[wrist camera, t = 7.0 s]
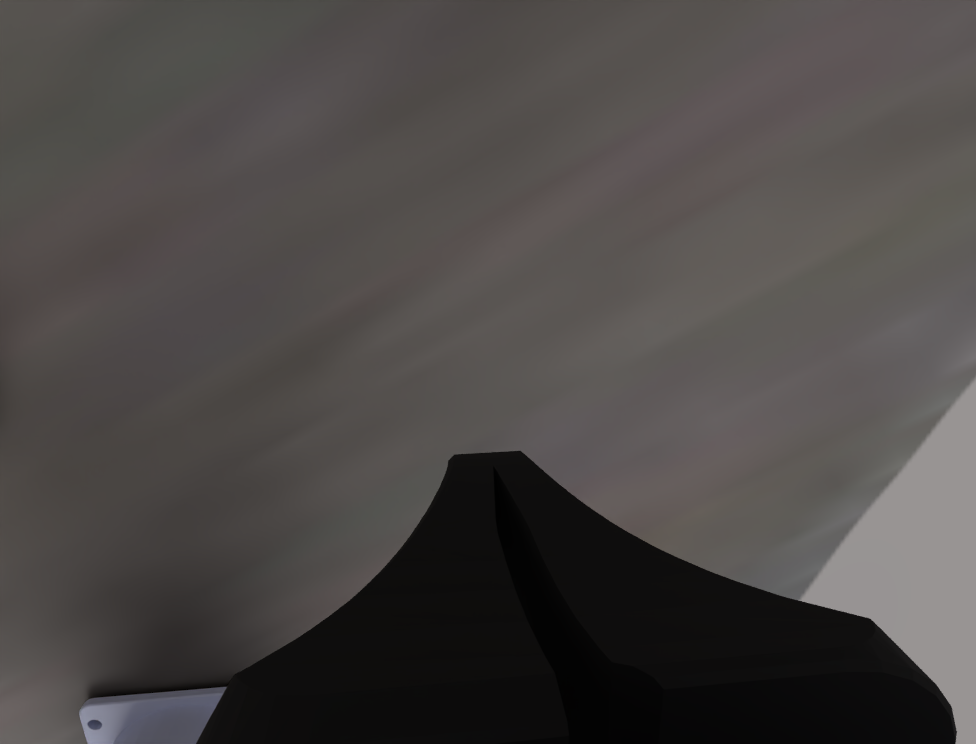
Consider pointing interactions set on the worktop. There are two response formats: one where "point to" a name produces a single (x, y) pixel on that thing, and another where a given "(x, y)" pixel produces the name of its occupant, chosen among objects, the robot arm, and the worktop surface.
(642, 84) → the worktop surface
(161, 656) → the worktop surface
